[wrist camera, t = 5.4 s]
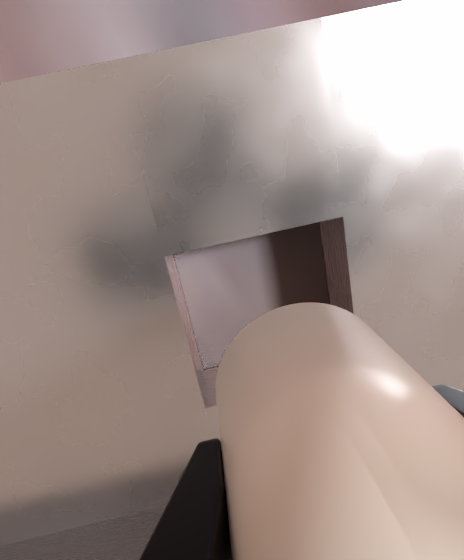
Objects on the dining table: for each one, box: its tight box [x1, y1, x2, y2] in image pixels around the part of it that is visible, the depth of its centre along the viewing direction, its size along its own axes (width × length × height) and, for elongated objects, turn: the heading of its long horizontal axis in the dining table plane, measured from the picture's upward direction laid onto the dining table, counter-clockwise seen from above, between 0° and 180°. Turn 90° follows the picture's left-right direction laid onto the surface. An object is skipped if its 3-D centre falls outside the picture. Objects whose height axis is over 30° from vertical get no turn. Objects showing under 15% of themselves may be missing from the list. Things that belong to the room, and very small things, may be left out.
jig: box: [0, 0, 464, 560], centre depth 13 cm, size 16×20×4 cm
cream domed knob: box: [215, 302, 464, 560], centre depth 6 cm, size 4×4×7 cm
